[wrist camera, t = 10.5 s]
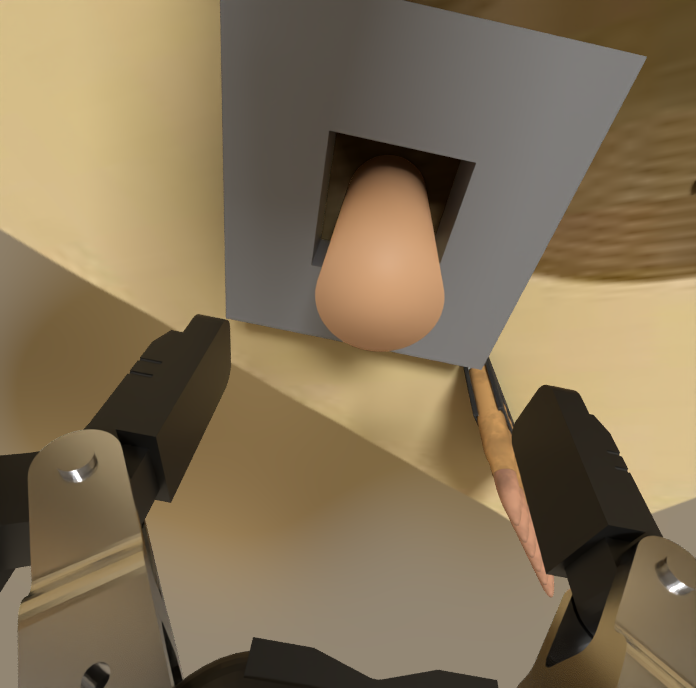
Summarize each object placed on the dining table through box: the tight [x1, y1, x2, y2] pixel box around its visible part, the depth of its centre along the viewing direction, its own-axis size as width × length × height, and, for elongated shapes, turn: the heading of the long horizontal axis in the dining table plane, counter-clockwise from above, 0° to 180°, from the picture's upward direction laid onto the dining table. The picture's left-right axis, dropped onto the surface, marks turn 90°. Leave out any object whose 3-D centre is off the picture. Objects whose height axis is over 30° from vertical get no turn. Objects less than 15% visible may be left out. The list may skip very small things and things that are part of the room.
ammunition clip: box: [463, 357, 554, 597], centre depth 27 cm, size 11×2×12 cm, turn 27°
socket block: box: [220, 0, 647, 370], centre depth 21 cm, size 16×16×4 cm
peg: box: [315, 155, 444, 352], centre depth 18 cm, size 4×4×11 cm
